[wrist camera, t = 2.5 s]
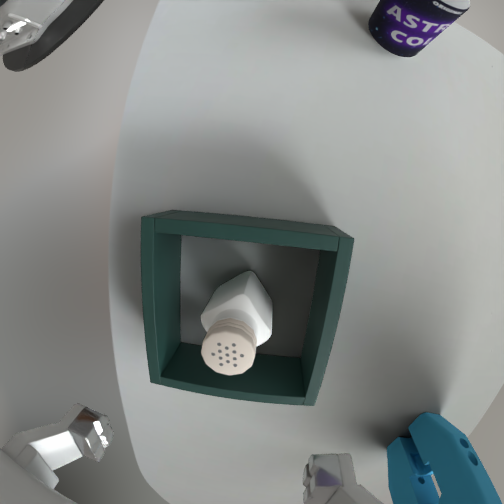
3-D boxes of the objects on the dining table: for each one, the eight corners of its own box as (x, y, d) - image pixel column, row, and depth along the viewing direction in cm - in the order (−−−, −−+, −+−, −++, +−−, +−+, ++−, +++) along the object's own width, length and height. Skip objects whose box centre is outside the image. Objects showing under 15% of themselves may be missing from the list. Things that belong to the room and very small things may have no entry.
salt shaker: (275, 303, 24) (274, 366, 15) (237, 322, 25) (219, 388, 16) (252, 266, 24) (237, 313, 14) (213, 287, 24) (180, 341, 15)
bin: (171, 348, 26) (150, 382, 20) (172, 209, 23) (141, 216, 17) (308, 366, 25) (314, 405, 20) (334, 226, 22) (354, 238, 17)
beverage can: (359, 41, 18) (403, -34, 6) (372, 9, 17) (411, -59, 5) (410, 70, 18) (478, 17, 7) (420, 36, 17) (476, -17, 5)
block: (398, 457, 29) (426, 552, 9) (376, 455, 29) (402, 560, 9) (450, 406, 26) (504, 503, 6) (431, 402, 26) (488, 512, 6)
